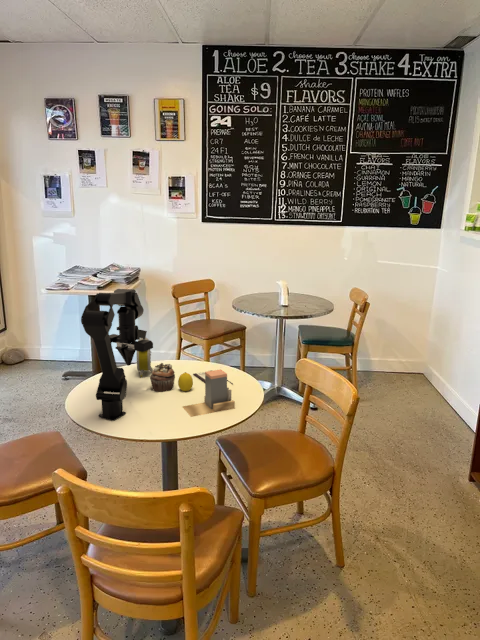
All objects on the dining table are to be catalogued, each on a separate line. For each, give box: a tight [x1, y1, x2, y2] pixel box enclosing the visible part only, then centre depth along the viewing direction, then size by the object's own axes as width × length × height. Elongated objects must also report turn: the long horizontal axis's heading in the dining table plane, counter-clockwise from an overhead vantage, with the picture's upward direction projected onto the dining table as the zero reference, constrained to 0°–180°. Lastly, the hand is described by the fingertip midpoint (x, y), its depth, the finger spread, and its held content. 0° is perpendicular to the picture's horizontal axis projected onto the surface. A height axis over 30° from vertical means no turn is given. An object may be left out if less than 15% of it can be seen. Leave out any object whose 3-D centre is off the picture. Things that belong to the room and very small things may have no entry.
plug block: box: [204, 369, 228, 409], centre depth 163 cm, size 6×5×12 cm
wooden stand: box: [181, 386, 236, 418], centre depth 162 cm, size 16×9×7 cm, turn 116°
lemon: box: [177, 372, 194, 392], centre depth 177 cm, size 6×6×8 cm
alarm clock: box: [136, 337, 154, 378], centre depth 195 cm, size 12×7×15 cm, turn 9°
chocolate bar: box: [192, 370, 234, 386], centre depth 191 cm, size 9×1×18 cm
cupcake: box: [149, 362, 176, 393], centre depth 180 cm, size 10×10×10 cm
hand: (128, 365), depth 171 cm, fingers closed
